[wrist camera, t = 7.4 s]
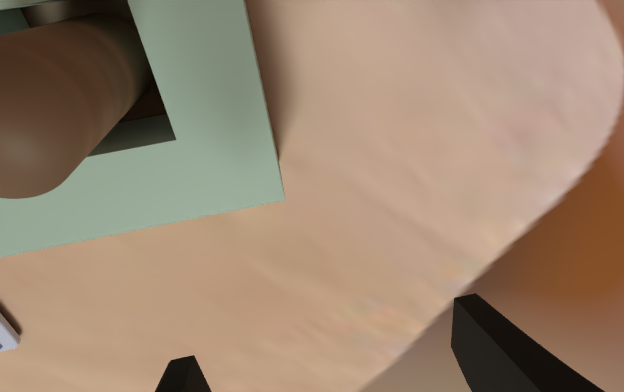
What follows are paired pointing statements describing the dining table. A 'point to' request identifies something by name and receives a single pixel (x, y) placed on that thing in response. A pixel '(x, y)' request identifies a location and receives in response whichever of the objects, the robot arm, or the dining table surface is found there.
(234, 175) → the socket block
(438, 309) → the dining table surface
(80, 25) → the walnut peg
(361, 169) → the dining table surface
